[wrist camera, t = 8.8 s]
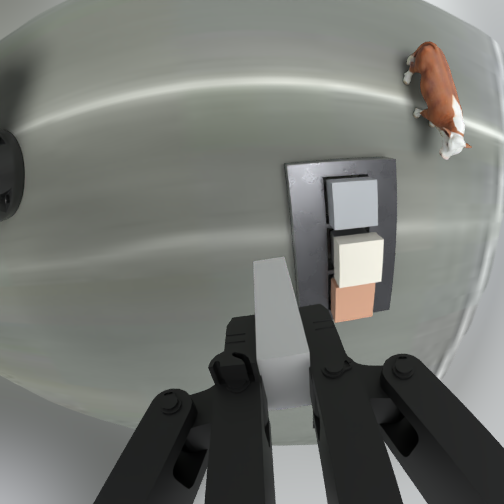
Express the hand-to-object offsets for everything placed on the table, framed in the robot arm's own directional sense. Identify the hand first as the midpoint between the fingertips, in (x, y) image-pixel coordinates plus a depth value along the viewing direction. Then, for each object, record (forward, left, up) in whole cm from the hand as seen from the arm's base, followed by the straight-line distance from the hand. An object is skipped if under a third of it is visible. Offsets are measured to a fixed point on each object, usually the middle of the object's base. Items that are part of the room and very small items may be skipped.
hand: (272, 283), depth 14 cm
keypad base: (+5, +9, -19) cm, 21 cm away
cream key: (+5, +9, -16) cm, 19 cm away
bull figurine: (-11, +21, -19) cm, 30 cm away
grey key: (0, +9, -18) cm, 20 cm away
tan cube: (+11, +9, -18) cm, 23 cm away
